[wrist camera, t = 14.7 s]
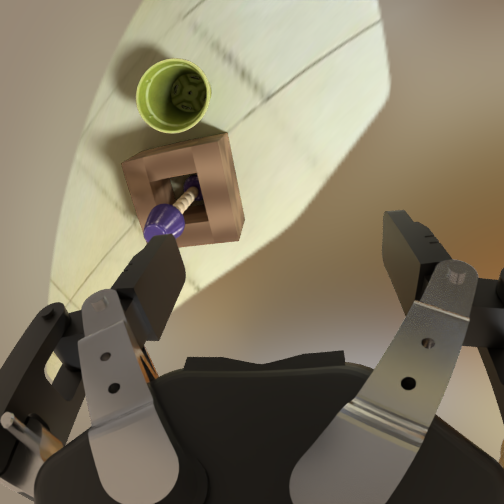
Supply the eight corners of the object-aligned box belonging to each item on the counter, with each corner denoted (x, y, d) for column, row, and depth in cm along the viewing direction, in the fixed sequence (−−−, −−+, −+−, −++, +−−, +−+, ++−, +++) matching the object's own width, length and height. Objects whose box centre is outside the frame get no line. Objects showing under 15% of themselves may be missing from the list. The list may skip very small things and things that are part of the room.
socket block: (141, 151, 44) (121, 163, 38) (227, 132, 42) (217, 141, 36) (164, 229, 51) (149, 250, 45) (244, 219, 49) (238, 240, 43)
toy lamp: (181, 198, 48) (138, 253, 34) (180, 171, 45) (133, 216, 31) (210, 200, 48) (178, 257, 33) (210, 172, 45) (175, 219, 31)
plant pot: (231, 69, 37) (219, 66, 30) (213, 130, 42) (198, 141, 34) (170, 57, 36) (145, 53, 29) (155, 116, 41) (129, 125, 34)
